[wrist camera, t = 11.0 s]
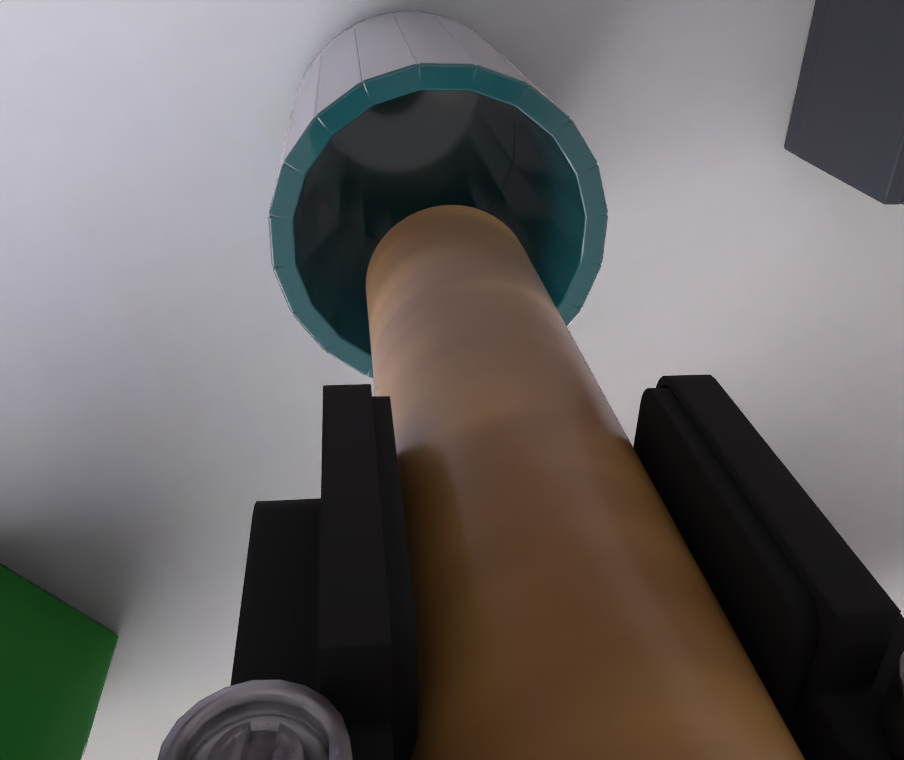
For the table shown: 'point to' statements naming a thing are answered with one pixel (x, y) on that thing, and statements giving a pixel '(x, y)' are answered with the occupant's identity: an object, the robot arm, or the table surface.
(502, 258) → the cylinder
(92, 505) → the table surface
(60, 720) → the milk carton
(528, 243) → the tumbler
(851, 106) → the caddy
